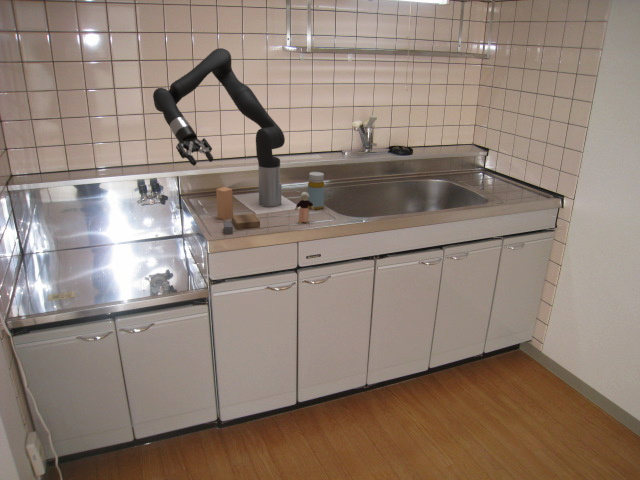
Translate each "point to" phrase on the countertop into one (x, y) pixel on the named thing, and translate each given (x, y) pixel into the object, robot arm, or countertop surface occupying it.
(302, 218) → the grandmother figurine
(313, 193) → the bottle
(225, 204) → the light brown brick
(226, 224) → the charcoal brick
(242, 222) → the walnut block
